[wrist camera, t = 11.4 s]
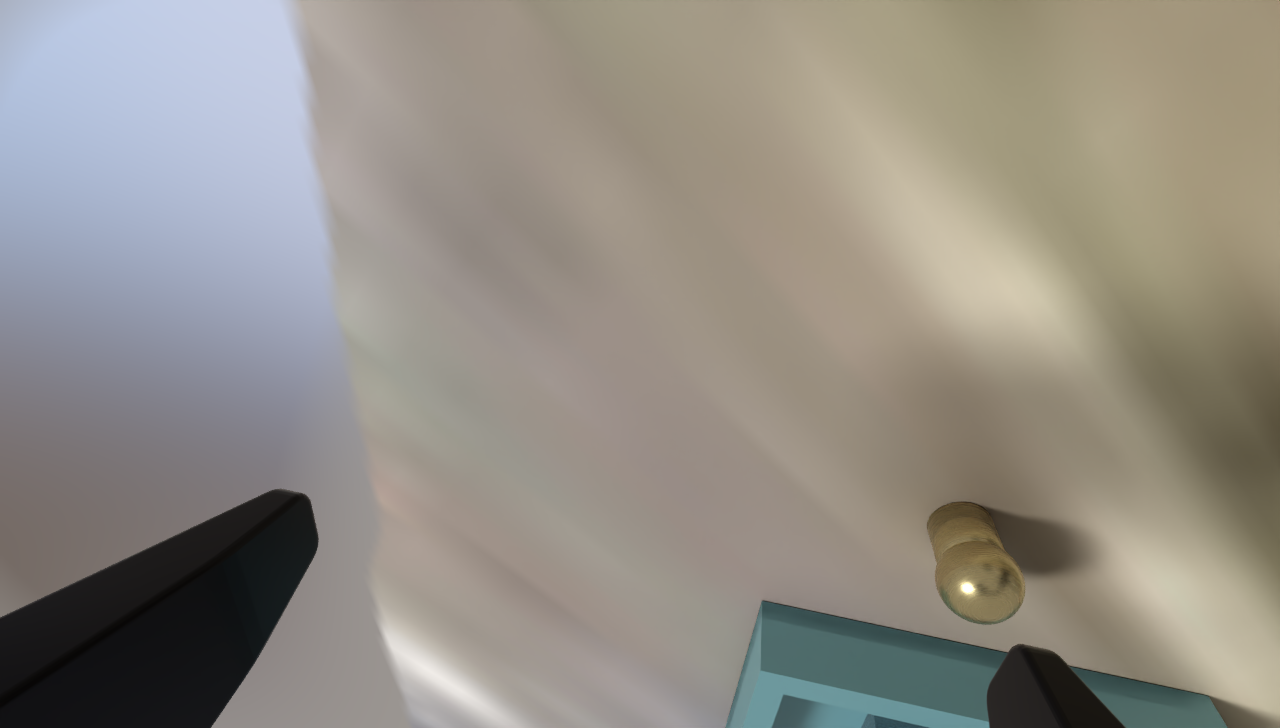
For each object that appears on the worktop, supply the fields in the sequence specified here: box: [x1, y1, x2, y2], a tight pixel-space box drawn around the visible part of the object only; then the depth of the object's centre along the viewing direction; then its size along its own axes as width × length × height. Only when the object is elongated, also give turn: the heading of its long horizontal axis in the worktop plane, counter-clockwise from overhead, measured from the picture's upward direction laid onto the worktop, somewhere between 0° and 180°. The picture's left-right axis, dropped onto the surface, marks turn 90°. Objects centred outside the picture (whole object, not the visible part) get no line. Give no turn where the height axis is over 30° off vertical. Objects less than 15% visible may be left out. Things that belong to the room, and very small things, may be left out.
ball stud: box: [927, 502, 1025, 624], centre depth 20 cm, size 2×2×4 cm
